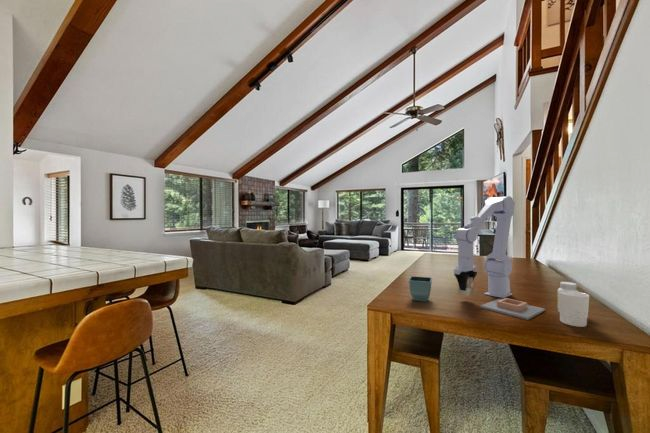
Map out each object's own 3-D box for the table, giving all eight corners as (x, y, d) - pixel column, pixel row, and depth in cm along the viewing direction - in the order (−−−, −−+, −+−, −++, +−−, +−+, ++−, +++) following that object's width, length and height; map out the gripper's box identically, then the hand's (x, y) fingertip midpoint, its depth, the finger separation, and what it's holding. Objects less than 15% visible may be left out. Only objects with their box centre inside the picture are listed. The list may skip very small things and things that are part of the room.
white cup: (551, 319, 100) (552, 290, 100) (572, 318, 101) (573, 289, 101) (573, 328, 92) (573, 297, 92) (595, 327, 93) (596, 296, 93)
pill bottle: (583, 316, 103) (583, 285, 103) (563, 315, 104) (563, 284, 104) (572, 310, 109) (572, 281, 109) (553, 309, 110) (554, 280, 110)
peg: (463, 292, 124) (463, 275, 124) (472, 294, 121) (472, 277, 121) (458, 293, 122) (458, 277, 122) (467, 295, 118) (467, 278, 118)
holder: (498, 300, 122) (499, 293, 122) (544, 310, 109) (544, 303, 109) (480, 307, 112) (480, 300, 112) (527, 319, 99) (527, 311, 99)
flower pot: (408, 301, 120) (408, 280, 120) (410, 296, 128) (410, 275, 128) (431, 304, 117) (431, 282, 117) (431, 298, 125) (431, 277, 125)
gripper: (465, 254, 129) (465, 284, 129) (447, 257, 120) (447, 289, 120) (481, 256, 123) (481, 288, 123) (463, 259, 114) (463, 293, 114)
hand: (465, 289), depth 121 cm, fingers closed on peg, 4 cm apart
